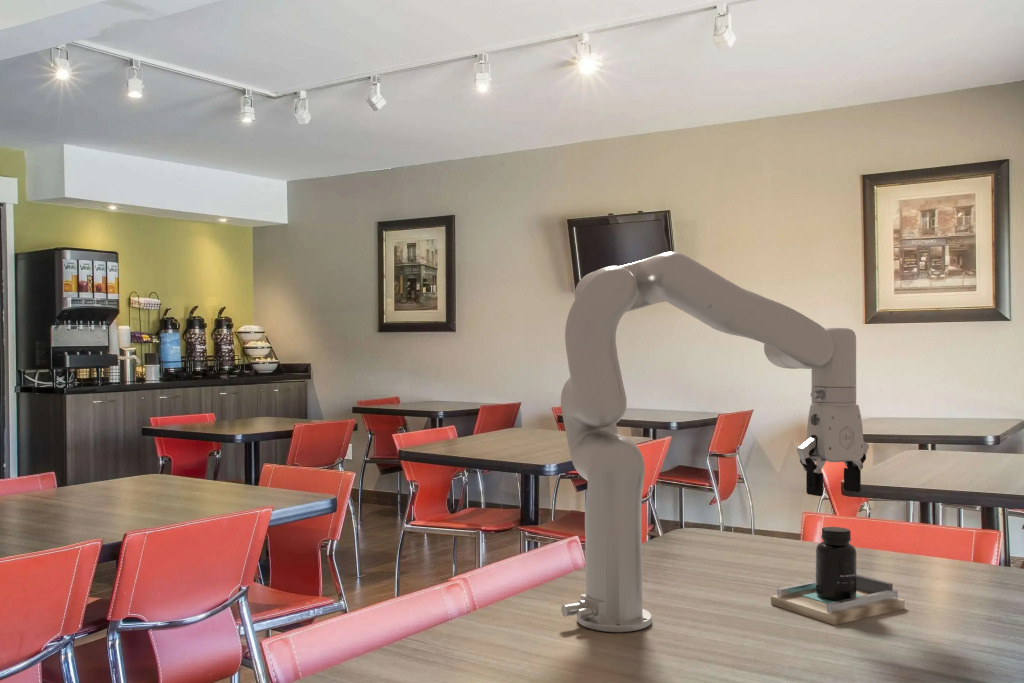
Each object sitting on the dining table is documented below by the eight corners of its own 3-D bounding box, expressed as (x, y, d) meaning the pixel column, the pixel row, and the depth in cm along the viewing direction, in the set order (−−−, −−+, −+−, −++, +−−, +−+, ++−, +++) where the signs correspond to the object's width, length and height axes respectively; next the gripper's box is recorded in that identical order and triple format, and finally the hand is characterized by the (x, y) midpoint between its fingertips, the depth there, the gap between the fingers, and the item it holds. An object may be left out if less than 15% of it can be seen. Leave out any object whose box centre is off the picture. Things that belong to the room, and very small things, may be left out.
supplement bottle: (850, 604, 149) (849, 534, 149) (810, 597, 153) (809, 529, 153) (861, 595, 154) (861, 528, 155) (823, 589, 159) (822, 523, 159)
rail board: (834, 625, 143) (834, 600, 143) (771, 604, 155) (770, 581, 155) (904, 608, 152) (904, 585, 152) (839, 589, 164) (838, 568, 164)
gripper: (816, 398, 147) (816, 499, 146) (883, 397, 155) (883, 492, 155) (783, 397, 153) (783, 493, 153) (848, 395, 162) (849, 486, 161)
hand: (833, 493), depth 154 cm, fingers open, 9 cm apart
